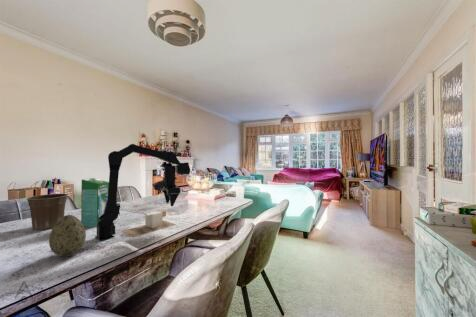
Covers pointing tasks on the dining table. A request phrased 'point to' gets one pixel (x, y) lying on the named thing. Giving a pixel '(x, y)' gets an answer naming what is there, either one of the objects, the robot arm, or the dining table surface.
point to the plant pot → (46, 210)
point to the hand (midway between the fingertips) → (169, 204)
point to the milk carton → (93, 200)
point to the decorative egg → (67, 236)
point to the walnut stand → (146, 229)
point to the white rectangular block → (154, 219)
